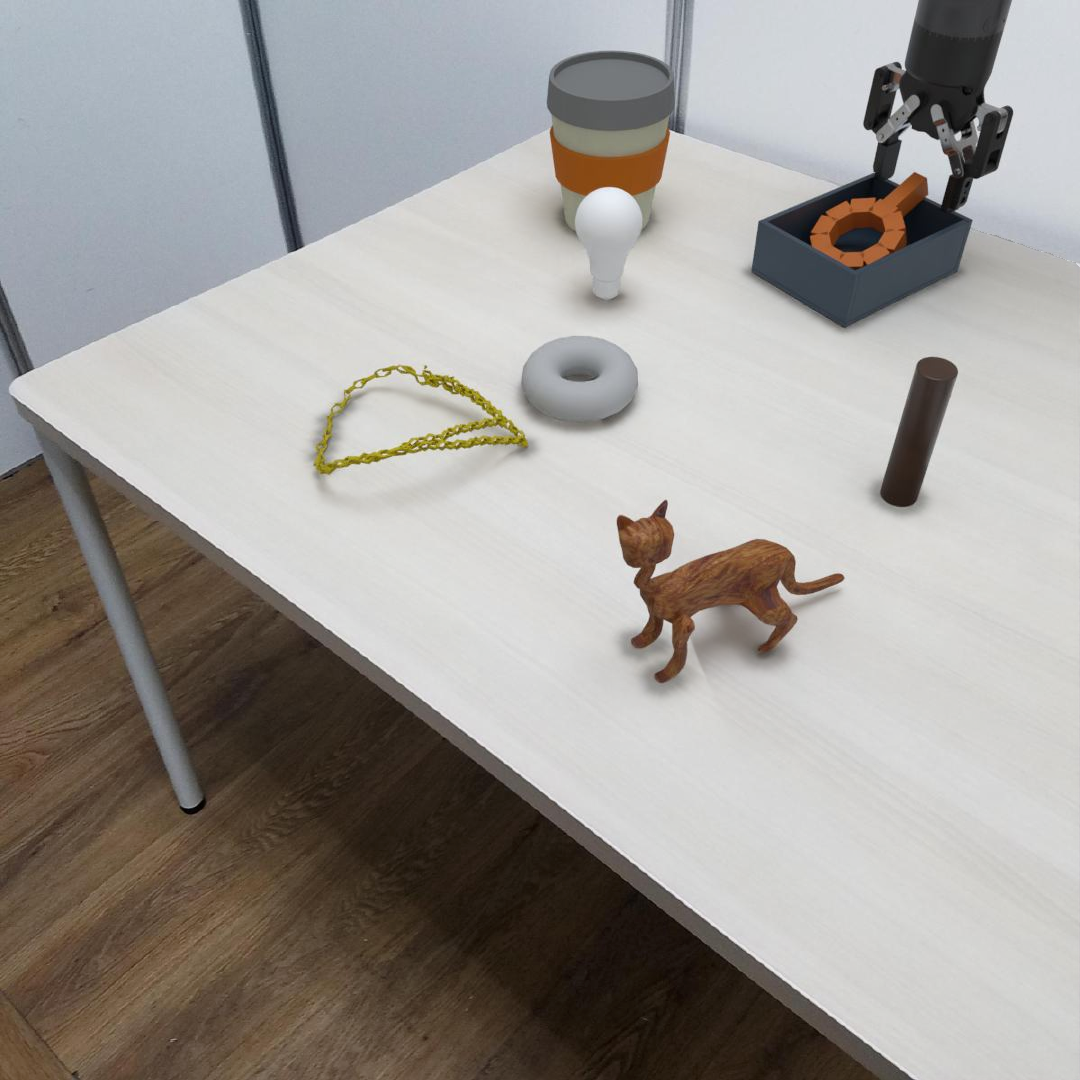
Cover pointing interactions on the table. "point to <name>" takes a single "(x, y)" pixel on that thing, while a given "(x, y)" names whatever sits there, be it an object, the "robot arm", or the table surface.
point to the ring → (870, 223)
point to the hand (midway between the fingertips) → (915, 193)
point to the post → (918, 430)
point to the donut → (579, 398)
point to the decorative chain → (407, 446)
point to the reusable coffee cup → (609, 125)
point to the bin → (874, 286)
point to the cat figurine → (708, 584)
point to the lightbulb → (608, 235)
